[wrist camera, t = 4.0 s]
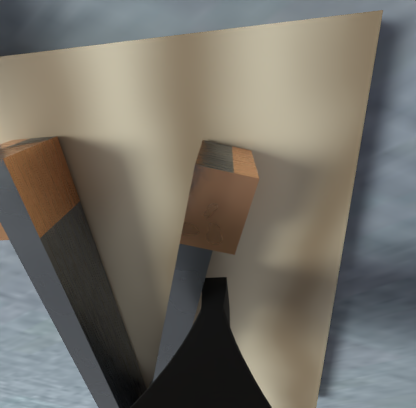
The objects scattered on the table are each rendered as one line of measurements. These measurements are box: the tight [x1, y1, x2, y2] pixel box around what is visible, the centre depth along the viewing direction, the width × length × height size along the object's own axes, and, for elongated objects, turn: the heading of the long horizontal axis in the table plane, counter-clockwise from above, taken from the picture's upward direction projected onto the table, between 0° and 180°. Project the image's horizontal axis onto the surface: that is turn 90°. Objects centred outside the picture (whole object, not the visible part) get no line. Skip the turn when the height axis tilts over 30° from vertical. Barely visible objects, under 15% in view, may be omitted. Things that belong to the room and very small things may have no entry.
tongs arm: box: [149, 140, 259, 387], centre depth 14 cm, size 2×19×3 cm, turn 168°
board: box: [0, 10, 383, 408], centre depth 16 cm, size 15×25×2 cm, turn 5°
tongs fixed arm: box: [0, 136, 147, 408], centre depth 14 cm, size 4×21×3 cm, turn 5°
